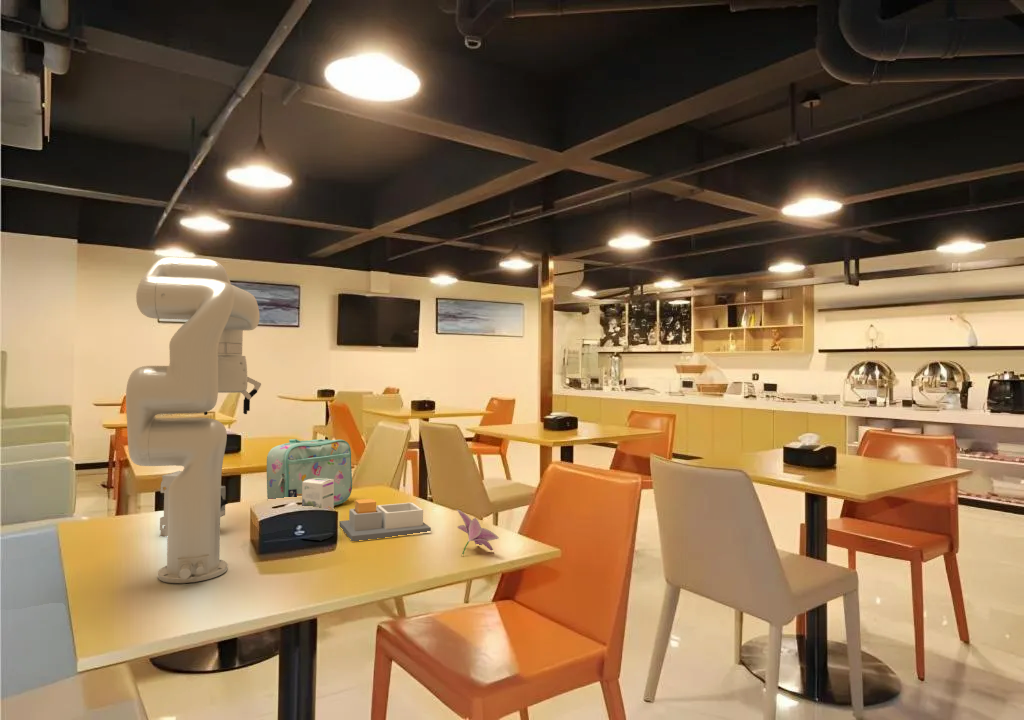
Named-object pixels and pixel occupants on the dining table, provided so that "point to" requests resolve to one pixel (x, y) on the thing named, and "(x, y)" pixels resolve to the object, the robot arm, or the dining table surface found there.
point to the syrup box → (318, 492)
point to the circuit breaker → (166, 483)
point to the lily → (476, 532)
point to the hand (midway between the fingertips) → (225, 414)
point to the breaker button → (365, 506)
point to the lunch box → (309, 467)
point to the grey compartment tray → (385, 522)
